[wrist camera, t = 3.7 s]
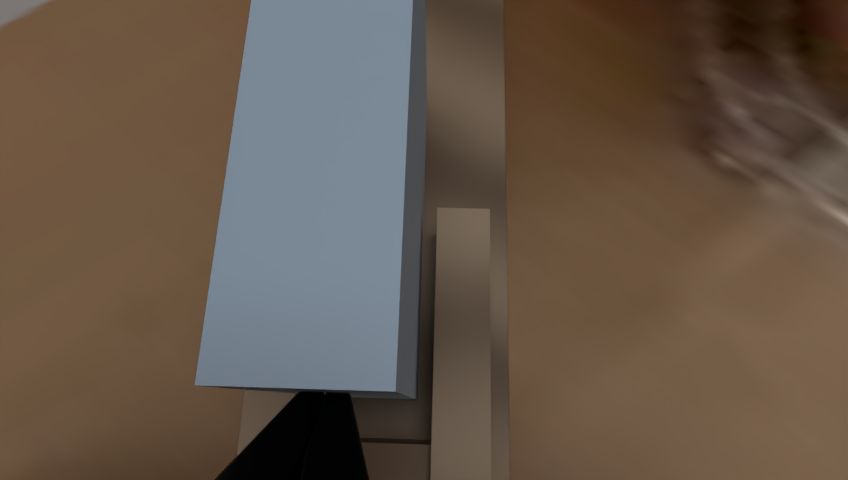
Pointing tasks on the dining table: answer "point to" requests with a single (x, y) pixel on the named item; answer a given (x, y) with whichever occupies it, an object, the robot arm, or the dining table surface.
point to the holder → (449, 273)
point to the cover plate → (323, 204)
